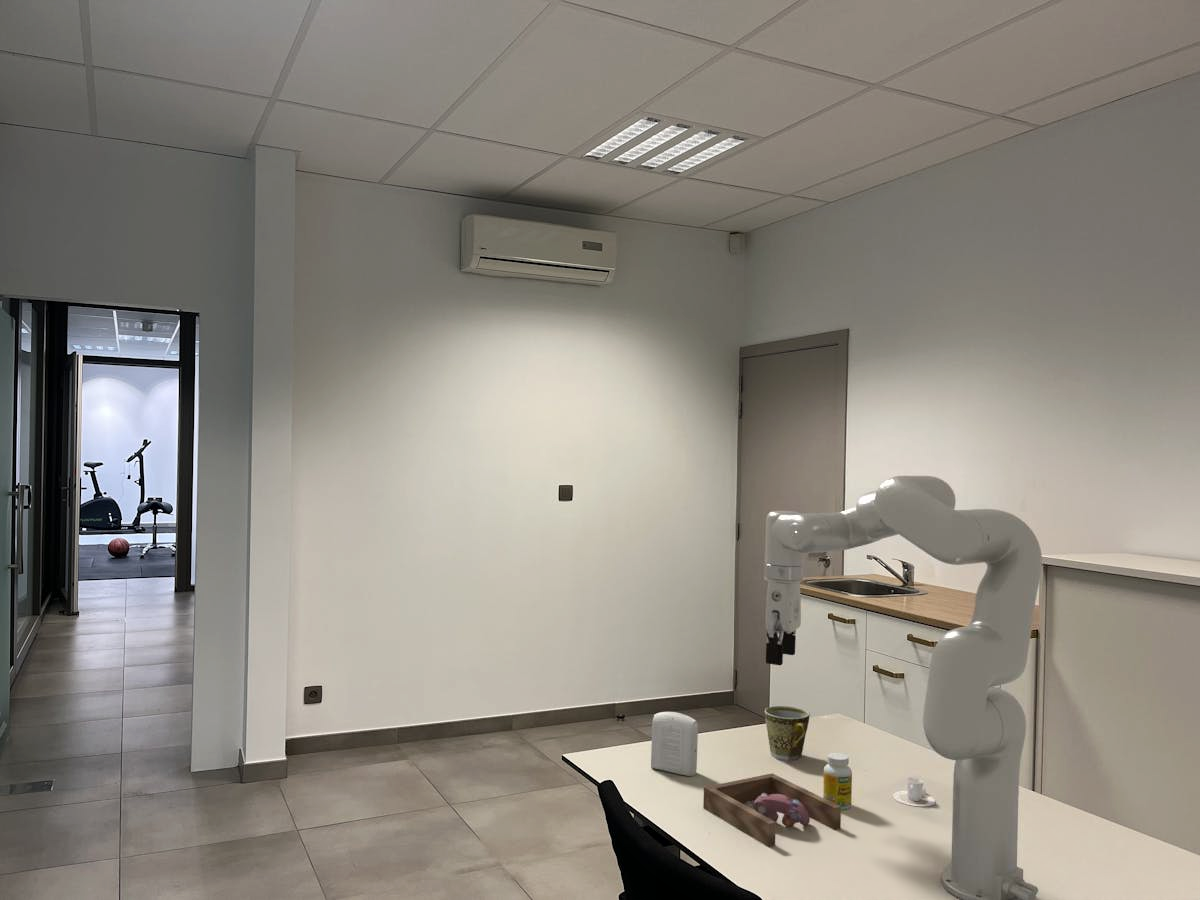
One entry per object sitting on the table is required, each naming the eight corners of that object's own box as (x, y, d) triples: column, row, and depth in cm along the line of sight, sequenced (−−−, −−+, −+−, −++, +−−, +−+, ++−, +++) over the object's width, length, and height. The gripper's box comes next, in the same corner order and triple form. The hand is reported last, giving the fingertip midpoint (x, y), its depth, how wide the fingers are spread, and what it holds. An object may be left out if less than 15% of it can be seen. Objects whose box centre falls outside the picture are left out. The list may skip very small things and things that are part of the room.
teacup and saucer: (910, 789, 186) (911, 770, 186) (945, 802, 179) (946, 782, 179) (884, 798, 180) (885, 778, 180) (919, 812, 174) (920, 791, 174)
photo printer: (699, 772, 192) (701, 714, 192) (691, 778, 188) (693, 719, 188) (656, 763, 197) (657, 706, 197) (647, 769, 193) (649, 711, 193)
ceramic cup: (755, 750, 207) (756, 707, 207) (794, 747, 210) (795, 704, 210) (783, 770, 194) (784, 723, 194) (824, 766, 197) (825, 720, 197)
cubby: (840, 828, 164) (841, 806, 164) (768, 846, 156) (769, 823, 156) (771, 793, 181) (772, 773, 181) (703, 808, 172) (703, 787, 172)
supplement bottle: (836, 797, 179) (837, 749, 179) (857, 807, 175) (858, 757, 175) (817, 803, 176) (818, 754, 176) (838, 812, 172) (839, 762, 172)
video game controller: (753, 828, 167) (749, 800, 165) (760, 809, 171) (756, 782, 168) (806, 839, 163) (802, 811, 160) (812, 820, 167) (808, 792, 164)
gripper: (791, 580, 169) (788, 671, 169) (812, 570, 185) (809, 653, 185) (752, 576, 172) (749, 665, 173) (776, 566, 188) (773, 648, 188)
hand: (780, 659), depth 179 cm, fingers open, 9 cm apart
